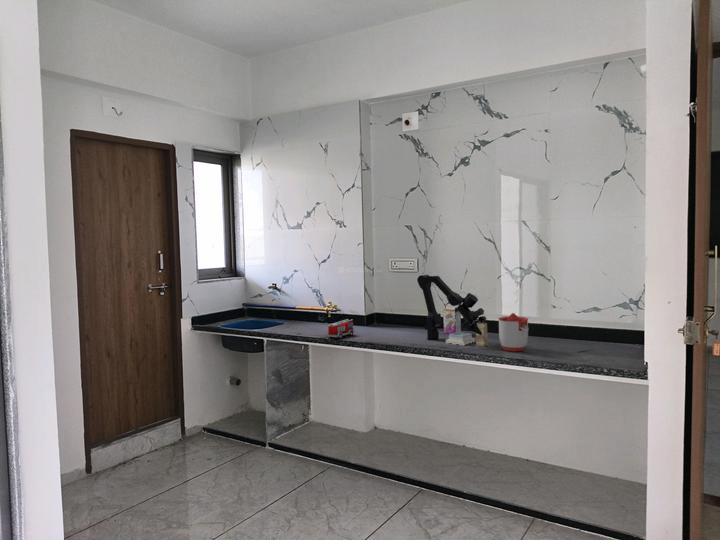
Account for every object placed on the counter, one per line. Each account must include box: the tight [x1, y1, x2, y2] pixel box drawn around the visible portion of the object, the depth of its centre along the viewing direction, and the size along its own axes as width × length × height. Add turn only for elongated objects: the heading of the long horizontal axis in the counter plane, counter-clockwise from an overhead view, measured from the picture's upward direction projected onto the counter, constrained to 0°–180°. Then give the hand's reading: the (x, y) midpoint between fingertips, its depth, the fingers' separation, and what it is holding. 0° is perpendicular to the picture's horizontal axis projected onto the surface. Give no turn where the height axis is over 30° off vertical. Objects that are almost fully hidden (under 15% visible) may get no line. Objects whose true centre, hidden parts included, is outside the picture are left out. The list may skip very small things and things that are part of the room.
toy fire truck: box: [326, 318, 355, 339], centre depth 352 cm, size 9×19×10 cm, turn 139°
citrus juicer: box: [498, 312, 529, 353], centre depth 297 cm, size 16×17×20 cm
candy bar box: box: [442, 307, 462, 335], centre depth 348 cm, size 11×5×16 cm, turn 35°
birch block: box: [475, 322, 488, 347], centre depth 311 cm, size 4×4×12 cm
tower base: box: [445, 331, 476, 346], centre depth 321 cm, size 12×12×5 cm
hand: (483, 334), depth 310 cm, fingers closed on birch block, 4 cm apart
